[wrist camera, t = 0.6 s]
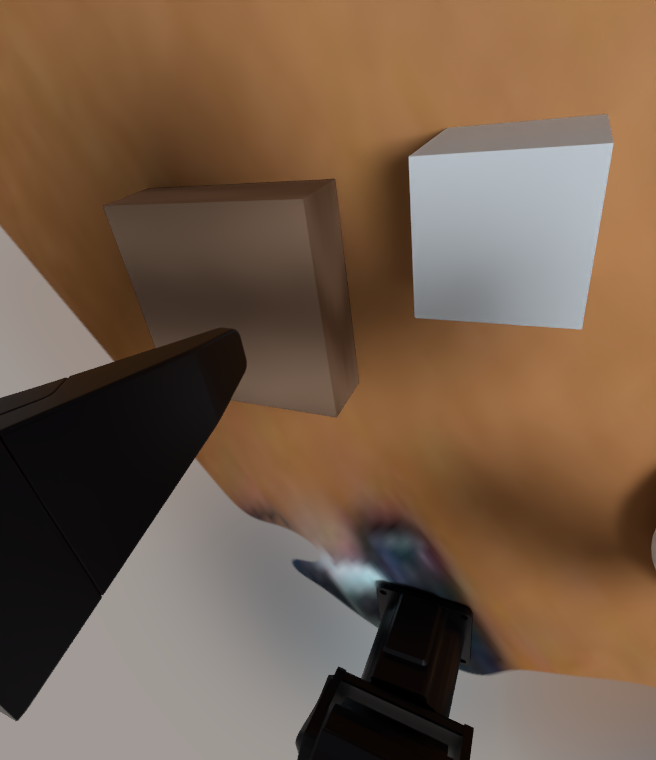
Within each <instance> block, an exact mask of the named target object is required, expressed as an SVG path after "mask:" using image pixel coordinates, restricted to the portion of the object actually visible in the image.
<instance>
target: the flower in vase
mask: <svg viewBox="0 0 656 760" xmlns="http://www.w3.org/2000/svg"><path fill="white" fill-rule="evenodd" d="M651 553H652V561H653V564H654V567H655V570H656V529H655V532H654V535H653V537H652V545H651Z"/></svg>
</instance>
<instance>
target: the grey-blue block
mask: <svg viewBox="0 0 656 760" xmlns="http://www.w3.org/2000/svg"><path fill="white" fill-rule="evenodd" d="M612 149H613V138H612V133H611V127H610V122H609V117H608V114H602V115H591V116H579V117H568V118H556V119H545V120H533V121H521V122H510V123H498V124H487V125H475V126H464V127H452V128H446V129H445V130H443V131H442V132H441V133H439V134H438V135H437V136H435V137H434V138H433V139H431V140H430V141H429V142H427V143H426V144H425V145H423V146H422V147H421V148H419V149H418V150H417V151H415V152H414V153H413V154H411V155H410V156H409V180H410V207H411V233H412V260H413V287H414V314H415V318H423V319H438V320H452V321H466V322H481V323H495V324H510V325H524V326H539V327H553V328H568V329H582V325H583V319H584V313H585V307H586V302H587V296H588V290H589V284H590V278H591V272H592V266H593V261H594V255H595V249H596V243H597V237H598V231H599V225H600V219H601V214H602V208H603V202H604V196H605V190H606V184H607V178H608V172H609V167H610V161H611V155H612Z"/></svg>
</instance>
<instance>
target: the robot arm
mask: <svg viewBox="0 0 656 760" xmlns="http://www.w3.org/2000/svg"><path fill="white" fill-rule="evenodd" d="M246 368H247V359H246V355H245V352H244V348H243V344H242V340H241V336H240V334H239V332H238V331H237V330H236V329H233V328H223V327H220V328H216V329H213V330H210V331H207V332H204V333H201V334H198V335H195V336H192V337H189V338H186V339H182V340H179V341H176V342H173V343H170V344H167V345H164V346H161V347H158V348H155V349H152V350H149V351H146V352H143V353H140V354H137V355H133V356H130V357H127V358H124V359H121V360H118V361H115V362H112V363H109V364H106V365H103V366H100V367H97V368H94V369H91V370H88V371H84V372H82V373H78V374H75V375H72V376H70V377H69V378H63V379H60V380H57V381H54V382H51V383H47V384H44V385H42V386H38V387H35V388H32V389H28V390H25V391H22V392H19V393H15V394H12V395H9V396H5V397H2V398H0V711H1V712H2V713H4V714H5V715H7V716H8V717H10V718H12V719H14V720H15V721H18V720H19V719H20V717H21V716H22V715H23V714H24V713H25V711H26V710H27V709H28V707H29V706H30V704H31V703H32V701H33V700H34V698H35V697H36V695H37V694H38V692H39V691H40V690H41V688H42V687H43V685H44V683H45V682H46V681H47V679H48V678H49V676H50V674H51V673H52V672H53V670H54V669H55V667H56V666H57V664H58V663H59V661H60V660H61V658H62V657H63V655H64V653H65V652H66V651H67V649H68V648H69V646H70V644H71V643H72V642H73V640H74V639H75V637H76V636H77V634H78V633H79V631H80V630H81V628H82V627H83V625H84V624H85V622H86V621H87V619H88V618H89V616H90V615H91V613H92V612H93V610H94V608H95V607H96V606H97V604H98V603H99V601H100V600H101V598H102V596H101V595H103V594H104V593H105V592H106V590H107V589H108V587H109V585H110V584H111V583H112V581H113V579H114V578H115V577H116V575H117V573H118V572H119V571H120V569H121V568H122V566H123V565H124V563H125V562H126V560H127V558H128V557H129V556H130V554H131V553H132V551H133V550H134V548H135V547H136V545H137V544H138V542H139V540H140V539H141V538H142V536H143V535H144V533H145V532H146V530H147V529H148V527H149V526H150V524H151V523H152V521H153V520H154V518H155V517H156V515H157V514H158V512H159V511H160V509H161V508H162V506H163V505H164V503H165V502H166V501H167V499H168V498H169V496H170V495H171V493H172V492H173V490H174V489H175V487H176V486H177V484H178V483H179V481H180V480H181V478H182V477H183V475H184V474H185V472H186V471H187V469H188V468H189V466H190V464H191V463H192V462H193V460H194V459H195V457H196V456H197V454H198V453H199V451H200V450H201V448H202V447H203V445H204V444H205V442H206V441H207V439H208V438H209V436H210V435H211V433H212V432H213V430H214V429H215V427H216V425H217V424H218V422H219V420H220V419H221V417H222V415H223V413H224V411H225V410H226V408H227V406H228V404H229V402H230V400H231V398H232V396H233V394H234V392H235V391H236V389H237V387H238V385H239V383H240V381H241V379H242V377H243V375H244V374H245V371H246ZM377 597H378V605H379V613H380V621H381V623H380V626H379V629H378V632H377V635H376V638H375V640H374V643H373V646H372V649H371V652H370V655H369V657H368V660H367V663H366V666H365V669H364V672H363V675H362V677H361V678H359V677H357V676H355V675H352V674H350V673H348V672H346V670H345V669H343V668H341V667H338V668H337V670H336V672H335V675H329V676H328V678H327V681H326V683H325V685H324V688H323V690H322V693H321V695H320V697H319V699H318V701H317V703H316V705H315V707H314V709H313V710H312V712H311V713H310V715H309V717H308V719H307V720H306V722H305V723H304V725H303V727H302V729H301V730H300V732H299V734H298V736H297V739H296V747H297V750H298V753H299V755H298V759H297V760H470V754H471V746H472V738H473V729H474V728H473V727H471V726H468V725H466V724H465V725H462V724H460V723H458V722H456V721H453V720H451V719H449V713H450V709H451V704H452V699H453V694H454V690H455V684H456V679H457V675H458V670H459V665H460V664H462V665H469V664H470V658H471V640H472V620H473V613H472V611H471V610H469V609H468V608H466V607H462V606H459V605H456V604H452V603H449V602H446V601H442V600H439V599H436V598H432V597H429V596H426V595H422V594H419V593H416V592H412V591H409V590H406V589H402V588H399V587H396V586H392V585H389V584H386V583H379V585H378V587H377Z"/></svg>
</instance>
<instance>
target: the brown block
mask: <svg viewBox="0 0 656 760" xmlns="http://www.w3.org/2000/svg"><path fill="white" fill-rule="evenodd" d="M103 208H104V211H105V213H106V216H107V219H108V221H109V224H110V227H111V229H112V232H113V235H114V237H115V240H116V243H117V245H118V248H119V251H120V254H121V256H122V259H123V262H124V264H125V267H126V270H127V272H128V275H129V278H130V280H131V283H132V286H133V288H134V291H135V294H136V296H137V299H138V302H139V305H140V307H141V310H142V313H143V315H144V318H145V321H146V323H147V326H148V329H149V331H150V334H151V337H152V339H153V342H154V345H155V347H156V348H158V347H161V346H164V345H167V344H170V343H173V342H176V341H179V340H182V339H186V338H189V337H192V336H195V335H198V334H201V333H204V332H207V331H210V330H213V329H216V328H220V327H223V328H233V329H236V330H237V331H238V332H239V334H240V336H241V340H242V344H243V348H244V352H245V355H246V359H247V368H246V371H245V374H244V375H243V377H242V379H241V381H240V383H239V385H238V387H237V389H236V391H235V392H234V394H233V396H232V398H231V400H233V401H239V402H245V403H251V404H257V405H263V406H269V407H275V408H282V409H288V410H294V411H300V412H306V413H312V414H318V415H324V416H330V417H337V416H338V415H339V413H340V412H341V410H342V408H343V407H344V405H345V404H346V402H347V401H348V399H349V397H350V396H351V394H352V393H353V391H354V390H355V388H356V387H357V385H358V383H359V378H358V370H357V361H356V353H355V344H354V336H353V327H352V319H351V310H350V302H349V293H348V284H347V276H346V267H345V259H344V250H343V242H342V233H341V225H340V216H339V208H338V199H337V191H336V182H335V179H325V180H305V181H286V182H266V183H246V184H226V185H207V186H187V187H167V188H148V189H145V190H143V191H140V192H138V193H135V194H132V195H130V196H127V197H124V198H122V199H119V200H117V201H114V202H111V203H109V204H106V205H104V206H103Z"/></svg>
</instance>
